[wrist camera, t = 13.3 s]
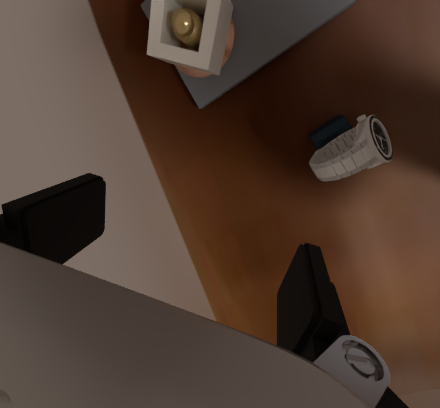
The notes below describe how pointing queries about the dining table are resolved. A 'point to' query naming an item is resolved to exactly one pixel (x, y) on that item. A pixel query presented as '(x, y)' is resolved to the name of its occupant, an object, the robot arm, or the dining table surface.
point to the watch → (349, 147)
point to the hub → (195, 36)
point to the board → (260, 39)
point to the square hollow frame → (210, 38)
